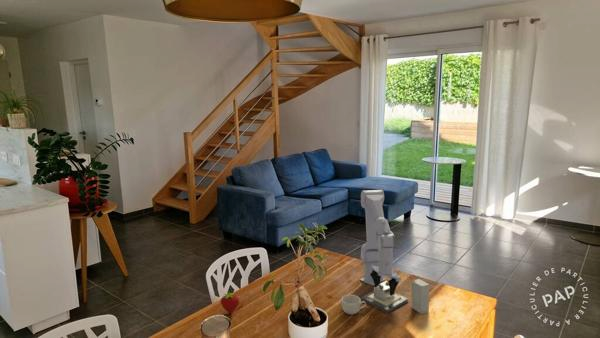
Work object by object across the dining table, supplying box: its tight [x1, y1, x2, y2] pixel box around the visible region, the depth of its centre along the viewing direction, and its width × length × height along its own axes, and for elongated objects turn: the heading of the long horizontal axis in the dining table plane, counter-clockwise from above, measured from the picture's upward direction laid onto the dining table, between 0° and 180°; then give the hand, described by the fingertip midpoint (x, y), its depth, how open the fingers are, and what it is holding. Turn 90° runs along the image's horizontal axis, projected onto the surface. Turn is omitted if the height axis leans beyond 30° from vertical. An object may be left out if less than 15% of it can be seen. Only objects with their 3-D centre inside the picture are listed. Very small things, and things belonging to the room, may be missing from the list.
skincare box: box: [411, 278, 430, 315], centre depth 158 cm, size 6×4×12 cm
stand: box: [360, 290, 409, 314], centre depth 166 cm, size 14×14×2 cm
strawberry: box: [220, 292, 240, 314], centre depth 157 cm, size 6×8×10 cm
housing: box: [373, 280, 396, 302], centre depth 166 cm, size 5×8×6 cm, turn 130°
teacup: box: [341, 294, 367, 315], centre depth 158 cm, size 10×8×5 cm
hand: (384, 291), depth 166 cm, fingers open, 7 cm apart
